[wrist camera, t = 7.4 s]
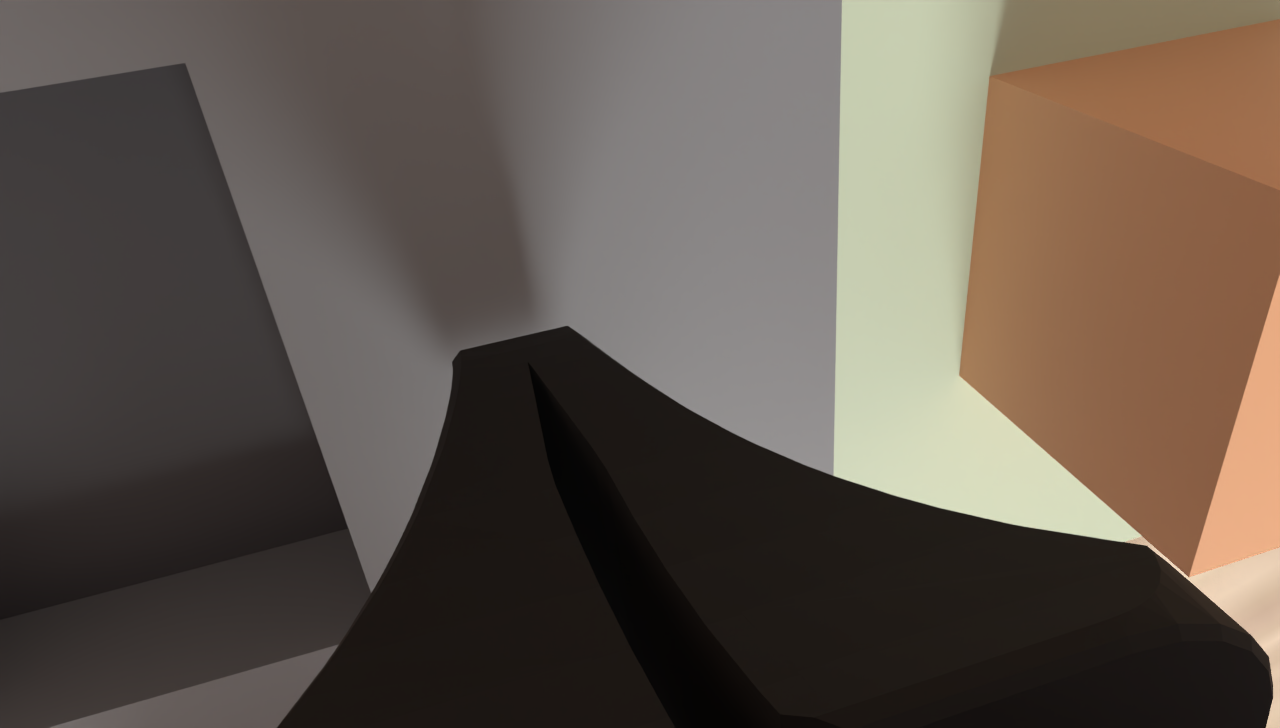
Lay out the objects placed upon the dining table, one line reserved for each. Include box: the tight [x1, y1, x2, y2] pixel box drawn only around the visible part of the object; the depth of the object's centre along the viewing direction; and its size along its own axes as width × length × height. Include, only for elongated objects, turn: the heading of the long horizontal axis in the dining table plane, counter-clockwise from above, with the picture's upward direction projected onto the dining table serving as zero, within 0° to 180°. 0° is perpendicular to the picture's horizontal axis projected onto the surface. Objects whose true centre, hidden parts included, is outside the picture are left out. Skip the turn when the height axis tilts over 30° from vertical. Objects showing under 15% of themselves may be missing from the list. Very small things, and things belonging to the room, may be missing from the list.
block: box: [959, 19, 1280, 577], centre depth 11 cm, size 4×4×4 cm
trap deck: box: [0, 0, 1280, 728], centre depth 14 cm, size 14×32×3 cm, turn 95°
